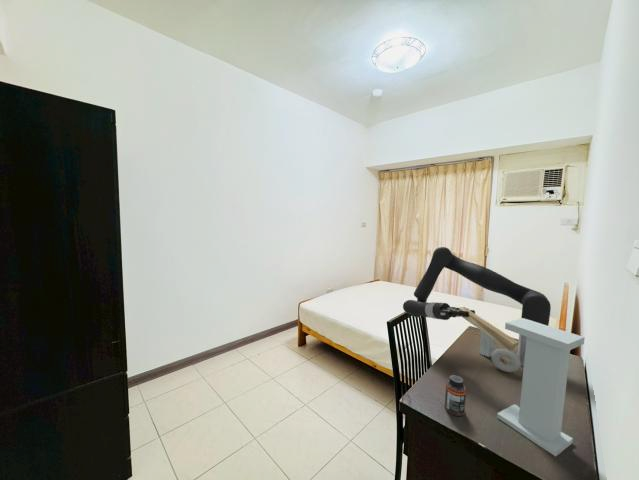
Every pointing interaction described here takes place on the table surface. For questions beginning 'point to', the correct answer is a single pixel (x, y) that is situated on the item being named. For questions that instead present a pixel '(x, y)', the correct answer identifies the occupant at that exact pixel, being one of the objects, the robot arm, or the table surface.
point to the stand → (542, 384)
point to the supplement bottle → (455, 396)
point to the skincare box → (486, 345)
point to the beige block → (491, 330)
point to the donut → (509, 354)
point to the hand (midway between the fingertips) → (471, 313)
